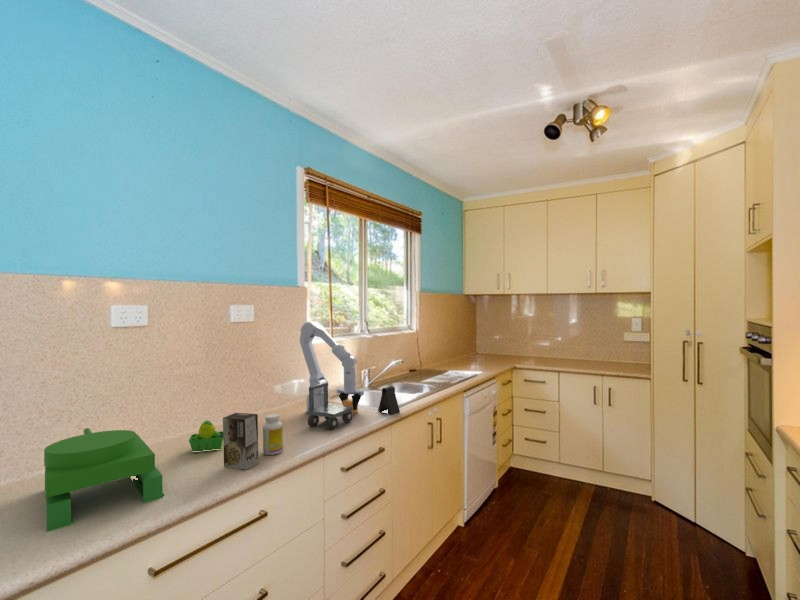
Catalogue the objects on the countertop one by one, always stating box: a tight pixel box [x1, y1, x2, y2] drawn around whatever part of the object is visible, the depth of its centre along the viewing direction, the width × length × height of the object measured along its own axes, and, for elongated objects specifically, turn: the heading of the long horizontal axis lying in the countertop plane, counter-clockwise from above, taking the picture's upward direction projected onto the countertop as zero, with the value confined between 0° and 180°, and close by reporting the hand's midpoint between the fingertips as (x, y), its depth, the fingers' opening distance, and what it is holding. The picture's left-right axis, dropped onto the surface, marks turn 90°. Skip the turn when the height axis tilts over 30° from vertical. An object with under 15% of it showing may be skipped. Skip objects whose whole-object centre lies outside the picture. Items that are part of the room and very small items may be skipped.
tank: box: [43, 427, 165, 533], centre depth 114 cm, size 24×35×16 cm
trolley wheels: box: [307, 411, 354, 431], centre depth 174 cm, size 12×16×5 cm
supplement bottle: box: [262, 413, 284, 456], centre depth 142 cm, size 7×7×13 cm
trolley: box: [307, 381, 352, 418], centre depth 175 cm, size 14×13×12 cm
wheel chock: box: [342, 398, 359, 415], centre depth 192 cm, size 5×8×6 cm, turn 153°
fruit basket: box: [188, 420, 223, 452], centre depth 145 cm, size 11×9×11 cm
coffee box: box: [222, 412, 260, 471], centre depth 130 cm, size 9×6×16 cm
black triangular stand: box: [377, 386, 401, 416], centre depth 192 cm, size 9×6×12 cm, turn 47°
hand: (350, 409), depth 193 cm, fingers closed on wheel chock, 5 cm apart
